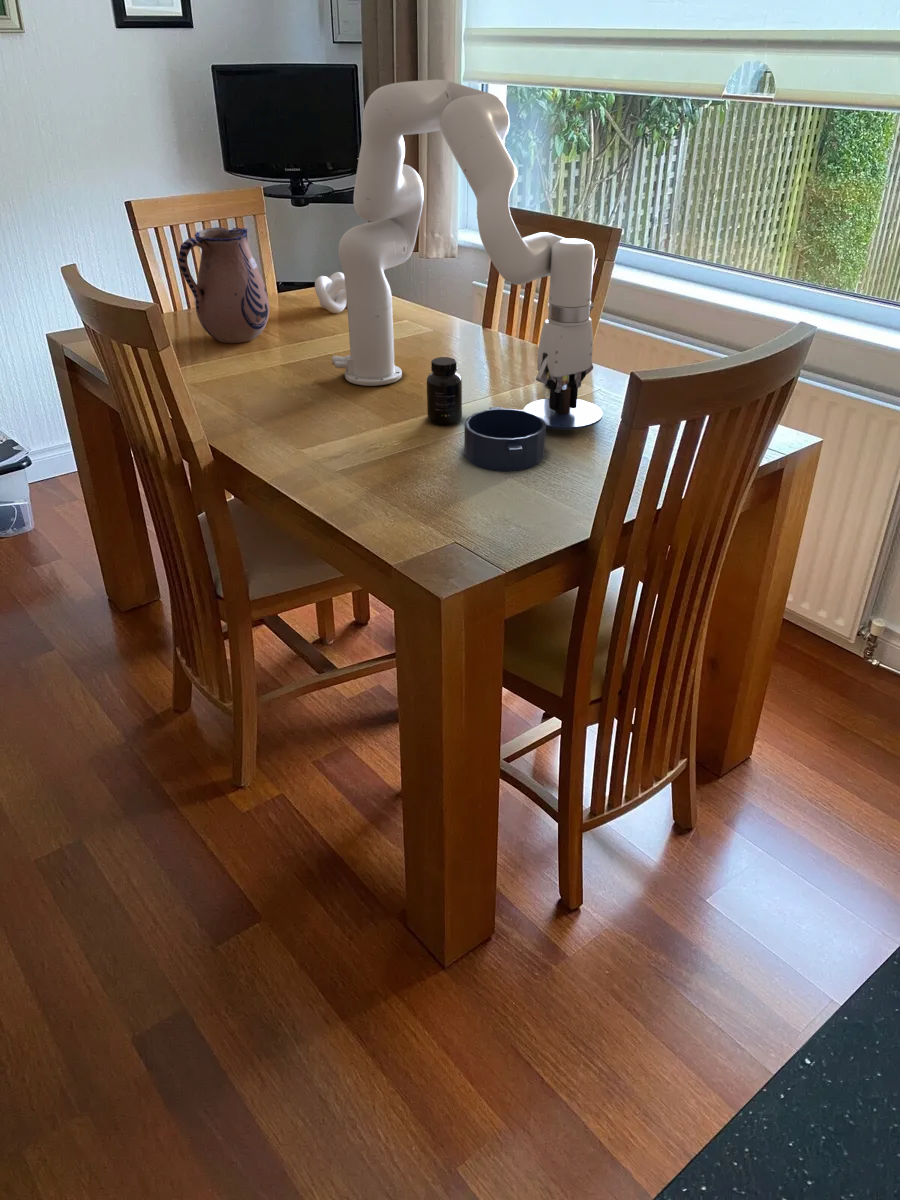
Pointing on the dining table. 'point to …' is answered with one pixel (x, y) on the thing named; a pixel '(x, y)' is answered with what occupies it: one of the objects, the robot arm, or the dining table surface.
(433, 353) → the dining table surface
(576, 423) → the pan lid
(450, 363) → the supplement bottle
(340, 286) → the white knot sculpture
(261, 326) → the ceramic pitcher
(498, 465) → the pan
